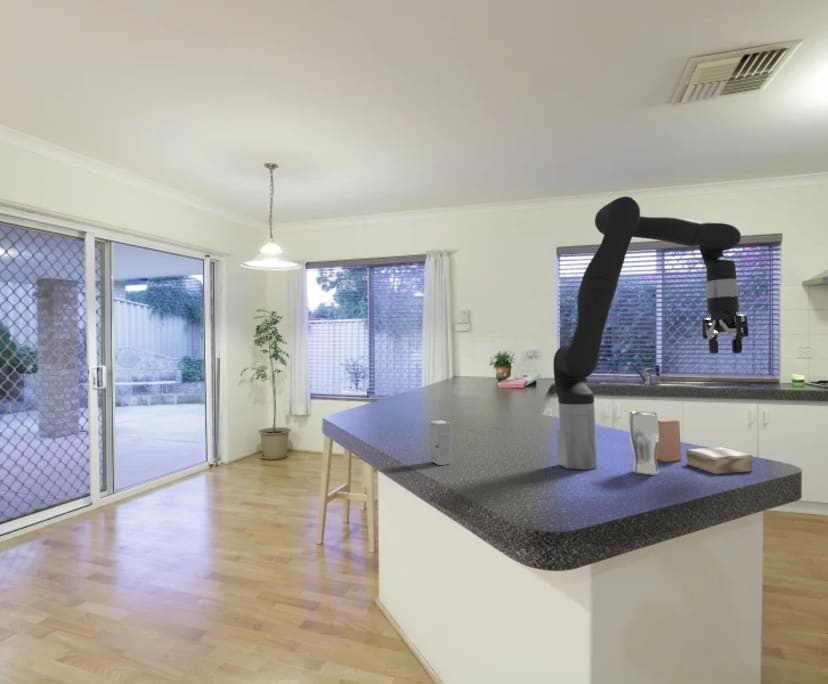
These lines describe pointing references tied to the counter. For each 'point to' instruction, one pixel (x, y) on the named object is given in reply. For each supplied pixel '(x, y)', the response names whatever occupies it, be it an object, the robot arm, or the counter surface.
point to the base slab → (719, 460)
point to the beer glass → (644, 442)
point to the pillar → (669, 440)
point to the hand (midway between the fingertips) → (725, 353)
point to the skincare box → (440, 441)
